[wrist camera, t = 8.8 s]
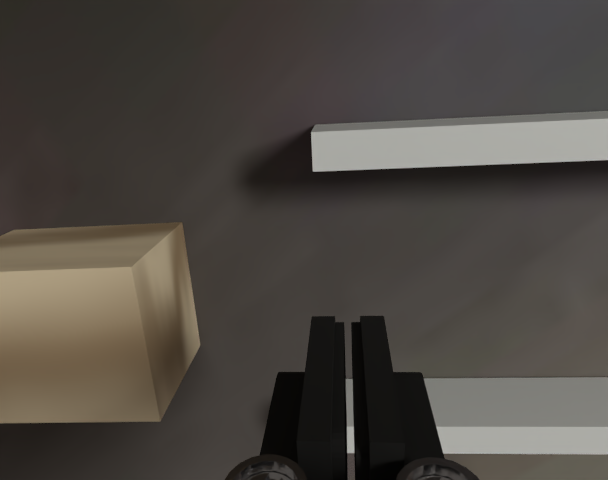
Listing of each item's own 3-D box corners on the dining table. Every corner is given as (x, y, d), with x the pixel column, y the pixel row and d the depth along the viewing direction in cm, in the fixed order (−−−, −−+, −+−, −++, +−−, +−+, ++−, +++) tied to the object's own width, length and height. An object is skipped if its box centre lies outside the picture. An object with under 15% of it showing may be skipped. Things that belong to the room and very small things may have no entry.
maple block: (16, 229, 19) (-89, 275, 14) (183, 221, 19) (131, 266, 14) (47, 347, 21) (-38, 423, 16) (201, 343, 20) (160, 421, 16)
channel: (315, 124, 17) (310, 132, 14) (788, 102, 16) (888, 105, 13) (326, 402, 21) (325, 452, 18) (713, 401, 19) (778, 455, 17)
